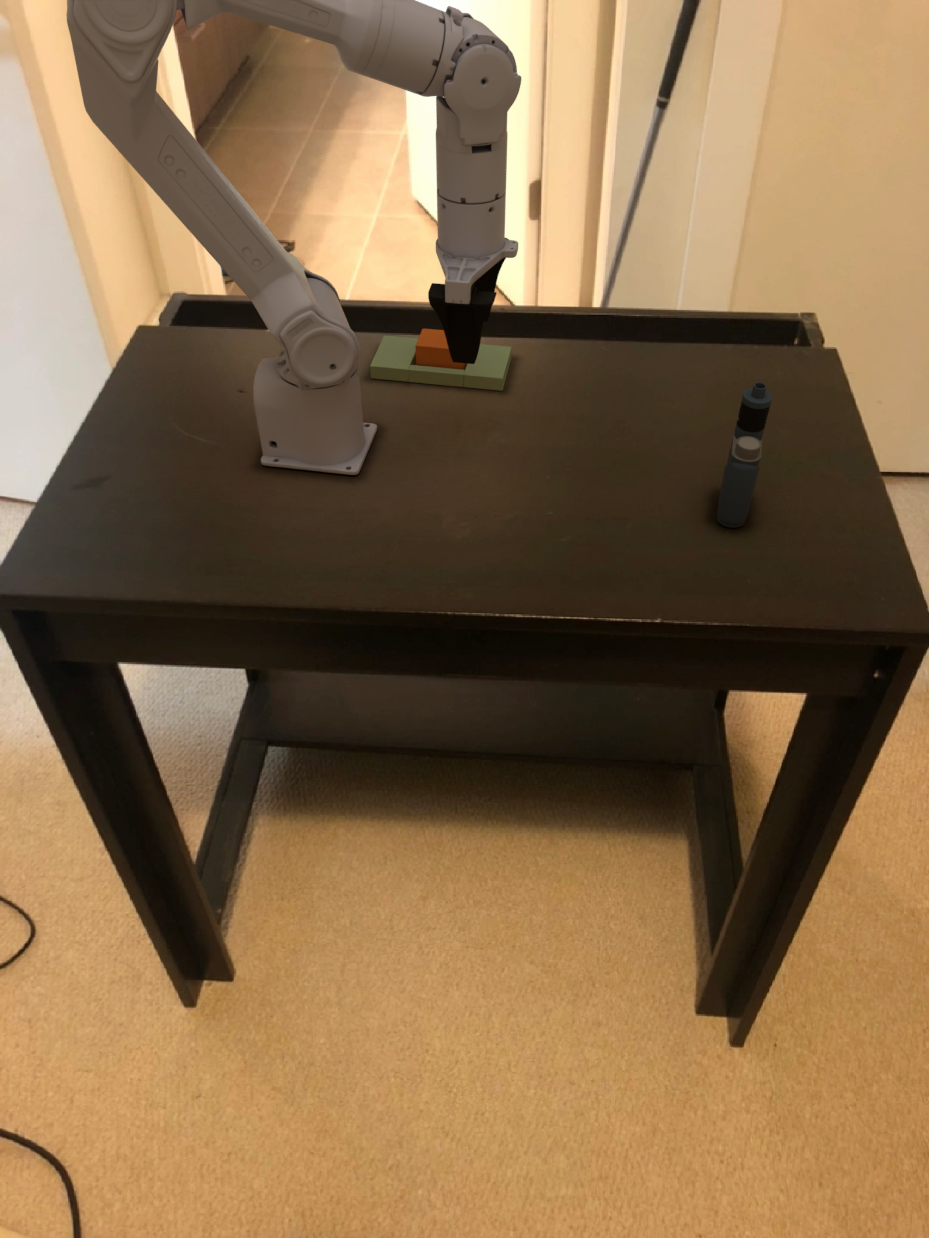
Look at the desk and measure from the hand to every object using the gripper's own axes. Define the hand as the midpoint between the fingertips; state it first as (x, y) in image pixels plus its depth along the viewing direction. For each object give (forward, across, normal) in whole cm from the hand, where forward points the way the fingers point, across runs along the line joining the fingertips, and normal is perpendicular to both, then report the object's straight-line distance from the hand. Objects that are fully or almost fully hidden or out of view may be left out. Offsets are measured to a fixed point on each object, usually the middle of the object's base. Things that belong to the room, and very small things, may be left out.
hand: (470, 339), depth 91 cm
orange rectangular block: (+9, +10, +4) cm, 14 cm away
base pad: (+9, +10, +5) cm, 14 cm away
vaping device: (+9, -10, -25) cm, 29 cm away
